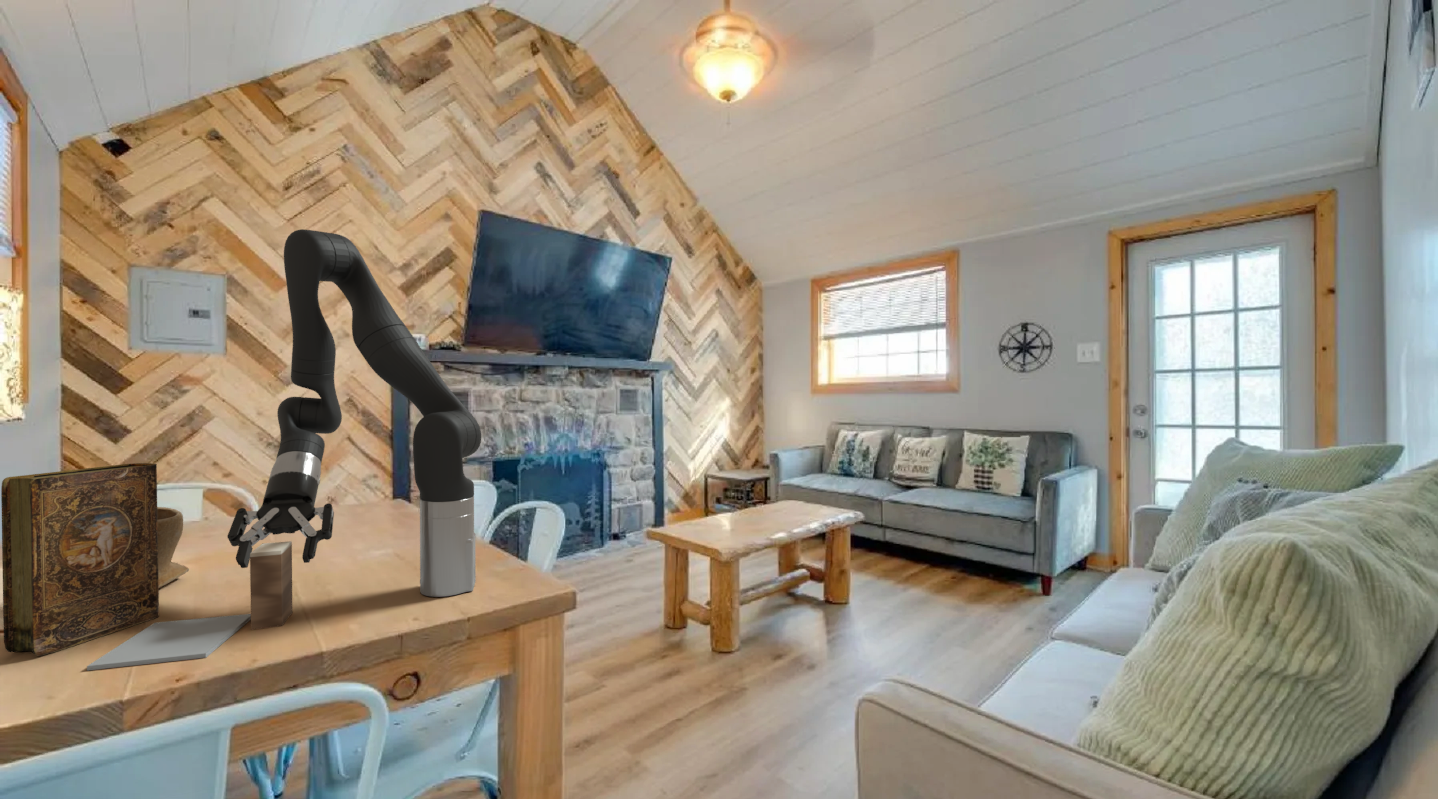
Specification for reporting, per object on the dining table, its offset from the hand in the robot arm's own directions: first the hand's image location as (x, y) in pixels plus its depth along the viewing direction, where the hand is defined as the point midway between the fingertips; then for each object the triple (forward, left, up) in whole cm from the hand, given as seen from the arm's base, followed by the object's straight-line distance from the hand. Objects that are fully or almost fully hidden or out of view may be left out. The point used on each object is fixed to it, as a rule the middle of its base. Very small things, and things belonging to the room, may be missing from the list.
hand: (275, 562), depth 97 cm
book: (+24, 0, -9) cm, 25 cm away
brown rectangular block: (0, +2, -9) cm, 9 cm away
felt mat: (+10, +7, -9) cm, 15 cm away
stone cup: (+28, -22, -9) cm, 37 cm away
